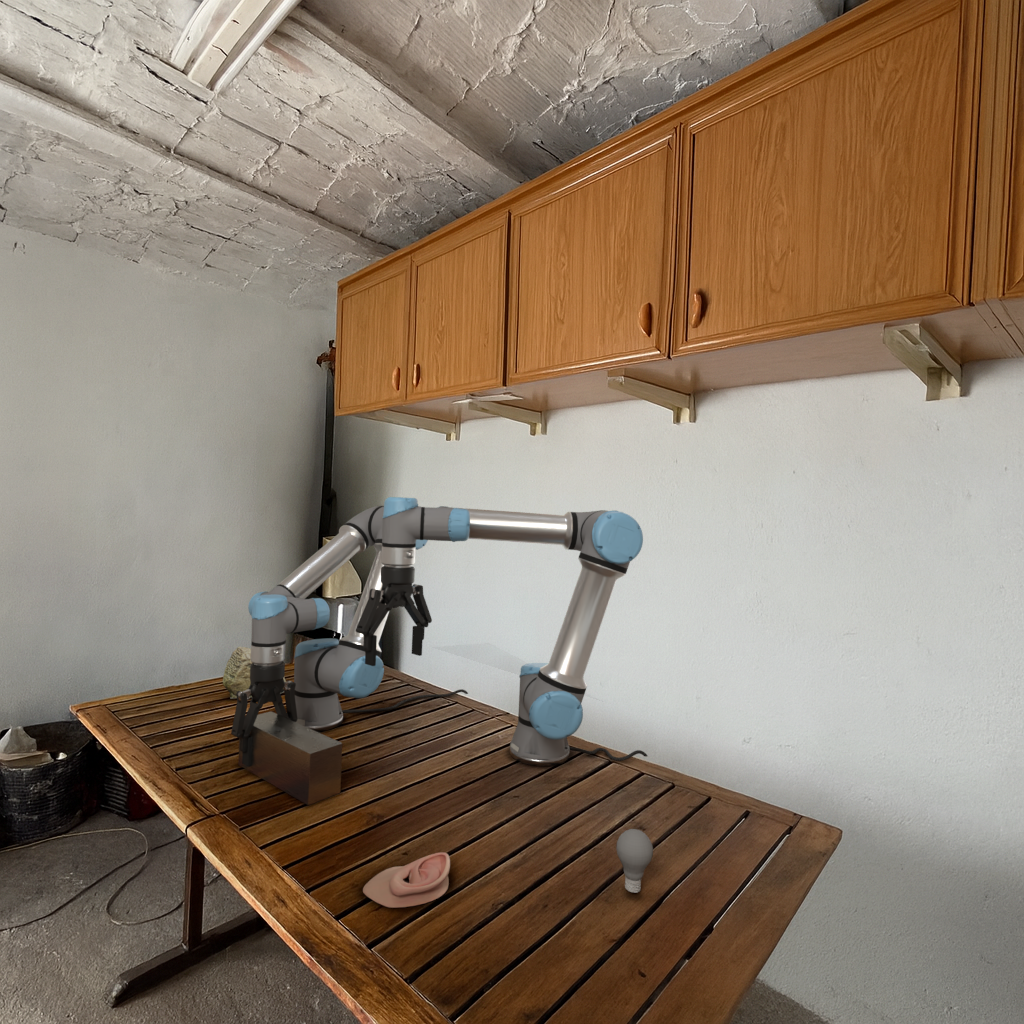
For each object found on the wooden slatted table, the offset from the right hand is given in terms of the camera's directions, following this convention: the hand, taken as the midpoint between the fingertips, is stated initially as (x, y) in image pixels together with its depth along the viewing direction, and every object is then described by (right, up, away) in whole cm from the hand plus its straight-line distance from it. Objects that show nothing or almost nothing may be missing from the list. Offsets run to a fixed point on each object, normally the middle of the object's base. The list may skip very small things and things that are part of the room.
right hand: (394, 659), depth 143 cm
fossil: (-54, -24, +55) cm, 81 cm away
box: (-24, -26, -1) cm, 35 cm away
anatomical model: (+9, -29, -39) cm, 49 cm away
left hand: (-31, -24, +5) cm, 40 cm away
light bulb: (+47, -30, -37) cm, 67 cm away
